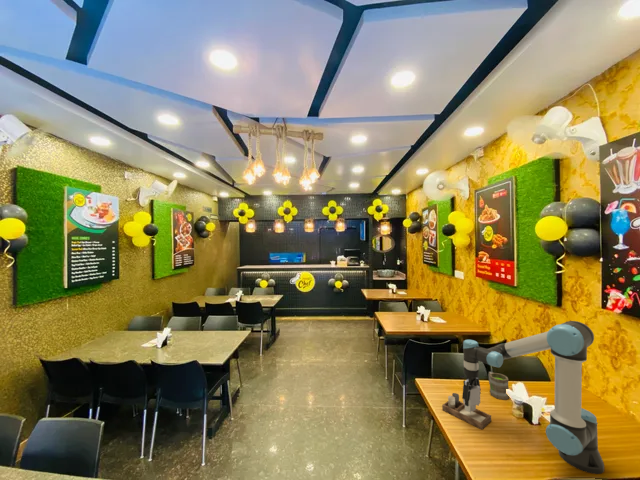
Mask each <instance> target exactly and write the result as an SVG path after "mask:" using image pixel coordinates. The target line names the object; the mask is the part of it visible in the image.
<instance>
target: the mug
mask: <svg viewBox="0 0 640 480" xmlns="http://www.w3.org/2000/svg"><path fill="white" fill-rule="evenodd" d="M488 383H489V394H490V396H492V397H493V398H496V399H497V400H498V399H499V400H508V399H510V396H509V397H508V395H507V394H506V389H509V390H510V387H509V377H508V376H507V375H505V374H502V373H497V372H493V371H488Z"/></svg>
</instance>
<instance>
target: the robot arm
mask: <svg viewBox="0 0 640 480" xmlns="http://www.w3.org/2000/svg"><path fill="white" fill-rule="evenodd" d="M594 340H595V334H594V332H593V330H592V329H591V327H589V326H588V325H587V324H586V323H583V322H580V321H576V320H568V321H565V322H563V323H561V324H556V325H554V326H552V327H551V328H550V329H548V331H545V332H541V333H538V334H534V335H530V336H527V337H523V338H520V339H516V340H512V341H508V342H505V343H499V344H496V345H494V346H492V347H490V348H485V347H482V346H479V342H478V341H476V340H474V339H465V340H463V344H462V345H463V346H462V349H463V350H462V351H463V360H462V361H463V374H464V376H466V379H464V380H463V386H462V395H461V397H462V400H463V399H464V400H465V411H468V412H470V400H469V399H470V391H469V390H471V389H472V388H473V385H475V386H477V385H478V386H480V387H481V384H480V383H481V382H480V372H479V371H480V370H479V369H480V366H479V362H481V363H483V364H486V365H488V366H491V367H495V368H501V367H502V365H503V363H504V360H508V359H511V358H517V357H520V356H525V355H528V354H534V353H539V352H543V351H547V350H550V353H551V355H552V356H553V357H554V409H551V410H550V413H549V424H548V425H547V426H546V428H545V434H546V438H547V439H548V441H549V442H550V443H551V444H552V446H553V447H554V448H556V449H557V450H558V454H559V456H560V458H561V459H562V460H563V461H564V462H566V463H567V464H569V465H570V466H572V467H573V468H575V469H577V470H579V471H582V472H585V473H588V474H593V475H595V474H596V475H599V474H602V473H603V474H604V472H605V463H604V461H603V458H602V456H601V454H600V451H599V447H598V446H599V445H598V443H599V442H598V422H597V420H598V419H597V416H596V415H595V414H593V413H592V412H591V411H589V410H587V409H585V408H582V385H583V384H582V382H583V381H582V377H583V376H582V373H583V372H582V369H583V367H582V366H583V363H585V362H587V360H588V359H587V357H588V347H590V346H591V345H592V344H593V343H594ZM469 385H470V386H469ZM480 395H481V388H480ZM477 406H478V407H479V406H480V404H479V405H477Z"/></svg>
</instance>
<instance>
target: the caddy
mask: <svg viewBox="0 0 640 480" xmlns="http://www.w3.org/2000/svg"><path fill="white" fill-rule="evenodd" d="M451 394H452V395H448V396H447V397H448V398H447V401H446V402H445V403H443V404H442V406H441V408H442V409H441V410H442V411H443V412H446V413H447V414H450V415H451V416H453V417H456V418H457V419H460V420H461V421H464V422H465V423H467V424H469V425H472V426H473V427H476V428H477V429H479V430H483V429H484V428H485V427H487V426H488V424H490V423H491V422H492V415H491V414H490V413H487V412H485V411H482V410H480V409H478V408H476V410H474V411H471V414H470V412H468V411H465V404H464V403H463V401H460V395H459V393H457V392H453V393H451Z"/></svg>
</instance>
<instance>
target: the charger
mask: <svg viewBox="0 0 640 480" xmlns="http://www.w3.org/2000/svg"><path fill="white" fill-rule="evenodd" d="M469 386H470V385H469ZM480 389H481V385H480V386H478V385H477V386H475V385H473V388H472V389H471V390H469V391H470V399H469V400H470V414H471V411H474V410H476V409H477V406H478V405H479V406H480V404H481V394H480V392H481V391H480ZM462 403H464V404H465V400H464V399H462Z"/></svg>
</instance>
